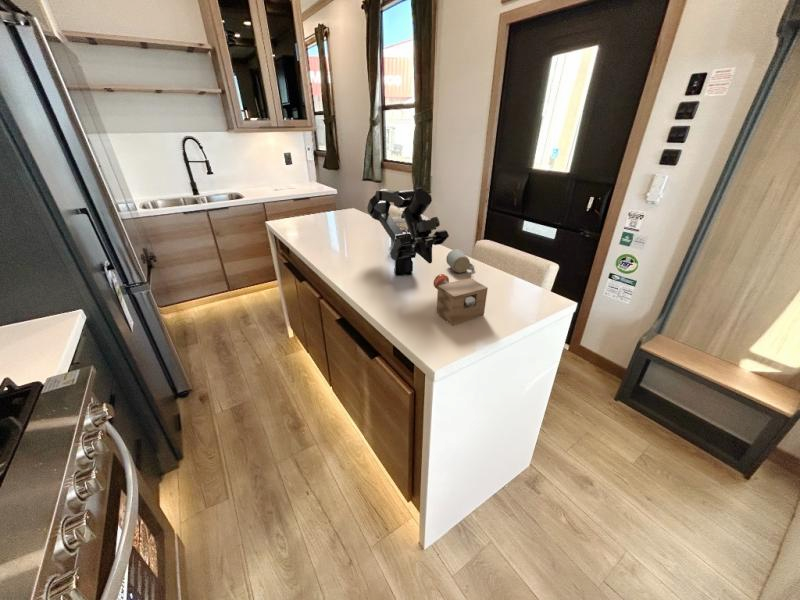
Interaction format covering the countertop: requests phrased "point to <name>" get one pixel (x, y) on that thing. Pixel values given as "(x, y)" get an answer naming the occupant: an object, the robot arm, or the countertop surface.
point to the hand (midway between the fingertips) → (430, 262)
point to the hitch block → (460, 301)
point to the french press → (403, 229)
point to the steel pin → (444, 280)
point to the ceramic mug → (458, 261)
